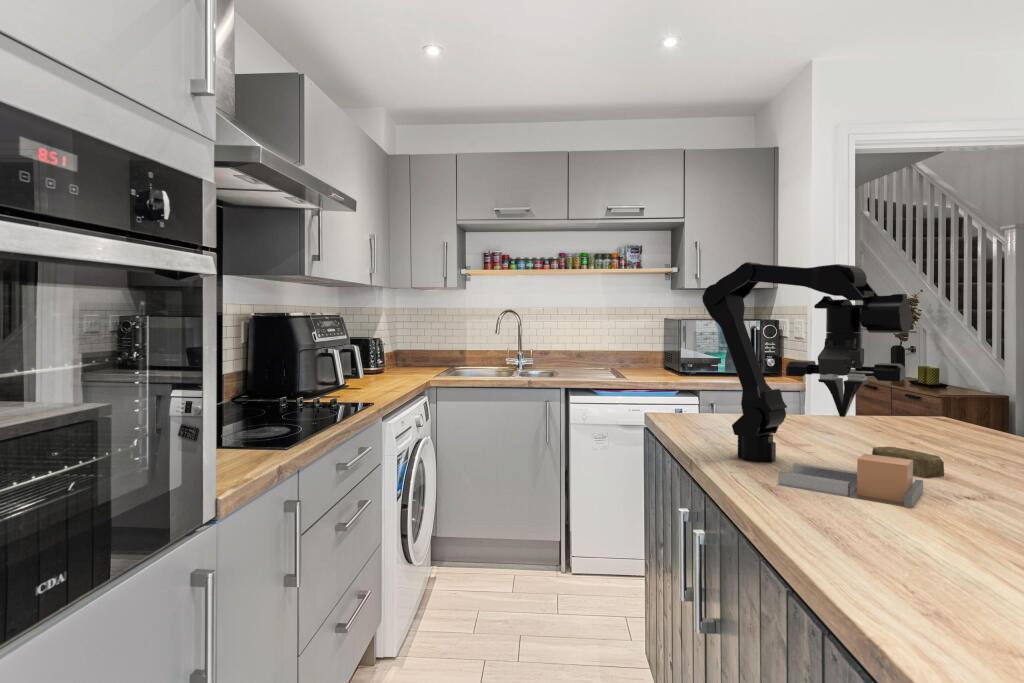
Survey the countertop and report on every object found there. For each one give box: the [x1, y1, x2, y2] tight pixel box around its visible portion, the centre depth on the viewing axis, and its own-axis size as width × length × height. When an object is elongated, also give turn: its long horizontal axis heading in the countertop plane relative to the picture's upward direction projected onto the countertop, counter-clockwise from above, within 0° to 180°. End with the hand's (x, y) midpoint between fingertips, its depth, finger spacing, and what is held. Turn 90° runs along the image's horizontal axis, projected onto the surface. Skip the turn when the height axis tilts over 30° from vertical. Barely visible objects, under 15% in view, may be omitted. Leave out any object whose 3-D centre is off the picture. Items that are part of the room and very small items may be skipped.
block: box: [856, 453, 914, 503], centre depth 98 cm, size 7×5×6 cm
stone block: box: [871, 446, 945, 479], centre depth 115 cm, size 6×12×5 cm, turn 22°
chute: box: [776, 462, 924, 509], centre depth 102 cm, size 20×11×3 cm, turn 48°
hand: (842, 416), depth 111 cm, fingers closed
